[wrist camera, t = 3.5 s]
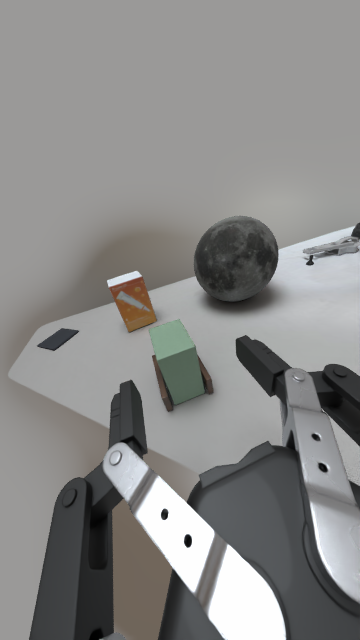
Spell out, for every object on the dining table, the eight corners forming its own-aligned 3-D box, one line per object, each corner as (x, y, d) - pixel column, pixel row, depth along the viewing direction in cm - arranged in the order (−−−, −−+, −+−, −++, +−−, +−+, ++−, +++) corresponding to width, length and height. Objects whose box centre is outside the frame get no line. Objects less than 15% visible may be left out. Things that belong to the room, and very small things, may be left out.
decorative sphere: (287, 310, 39) (305, 208, 28) (199, 320, 42) (185, 233, 31) (260, 278, 55) (265, 205, 44) (198, 287, 59) (189, 222, 48)
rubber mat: (54, 350, 44) (53, 349, 44) (37, 346, 48) (36, 345, 48) (79, 331, 50) (78, 330, 50) (62, 329, 54) (61, 328, 53)
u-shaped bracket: (213, 392, 26) (211, 378, 24) (168, 412, 25) (162, 398, 23) (193, 354, 33) (190, 341, 31) (157, 368, 32) (151, 355, 30)
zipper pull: (296, 257, 64) (298, 245, 61) (345, 246, 63) (349, 233, 61) (312, 262, 57) (315, 249, 55) (366, 250, 56) (371, 236, 54)
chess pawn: (306, 263, 58) (307, 254, 56) (313, 262, 57) (315, 253, 55) (305, 265, 56) (307, 255, 55) (313, 265, 55) (315, 255, 54)
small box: (129, 333, 44) (107, 287, 37) (125, 322, 49) (105, 279, 42) (157, 321, 46) (142, 275, 39) (151, 311, 51) (136, 269, 44)
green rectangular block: (205, 393, 26) (195, 346, 21) (174, 405, 26) (156, 360, 20) (189, 361, 32) (179, 318, 27) (164, 371, 31) (148, 329, 26)
